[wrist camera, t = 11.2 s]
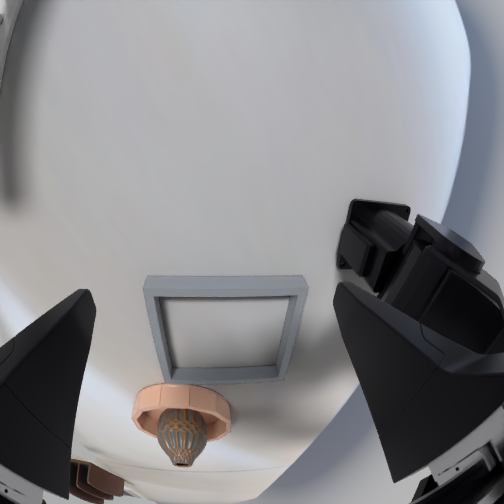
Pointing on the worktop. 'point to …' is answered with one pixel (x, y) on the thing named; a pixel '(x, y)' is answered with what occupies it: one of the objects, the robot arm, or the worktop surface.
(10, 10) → the test tube rack
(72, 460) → the letter holder
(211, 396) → the bowl
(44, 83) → the worktop surface
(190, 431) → the vase
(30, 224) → the worktop surface
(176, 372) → the parts tray
